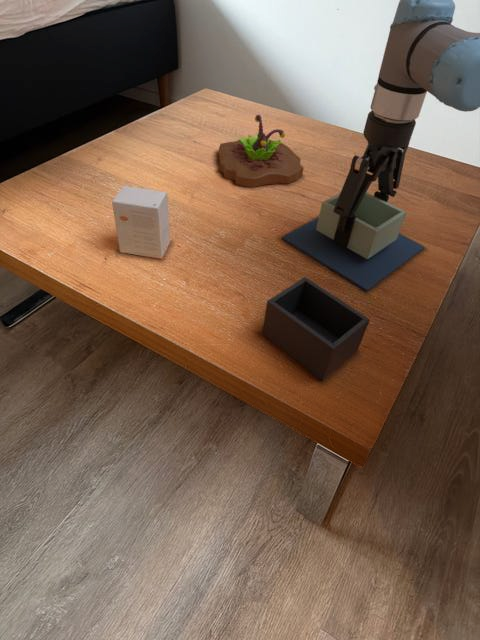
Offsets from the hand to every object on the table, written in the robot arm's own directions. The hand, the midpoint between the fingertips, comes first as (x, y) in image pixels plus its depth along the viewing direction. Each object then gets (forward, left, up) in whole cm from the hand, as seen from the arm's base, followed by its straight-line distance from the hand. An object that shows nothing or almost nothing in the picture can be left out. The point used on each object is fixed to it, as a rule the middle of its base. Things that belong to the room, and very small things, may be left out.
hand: (356, 233), depth 86 cm
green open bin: (0, 0, 0) cm, 0 cm away
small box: (+24, +32, -3) cm, 40 cm away
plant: (+34, -8, -3) cm, 35 cm away
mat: (0, 0, -2) cm, 2 cm away
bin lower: (-11, +27, -3) cm, 29 cm away
